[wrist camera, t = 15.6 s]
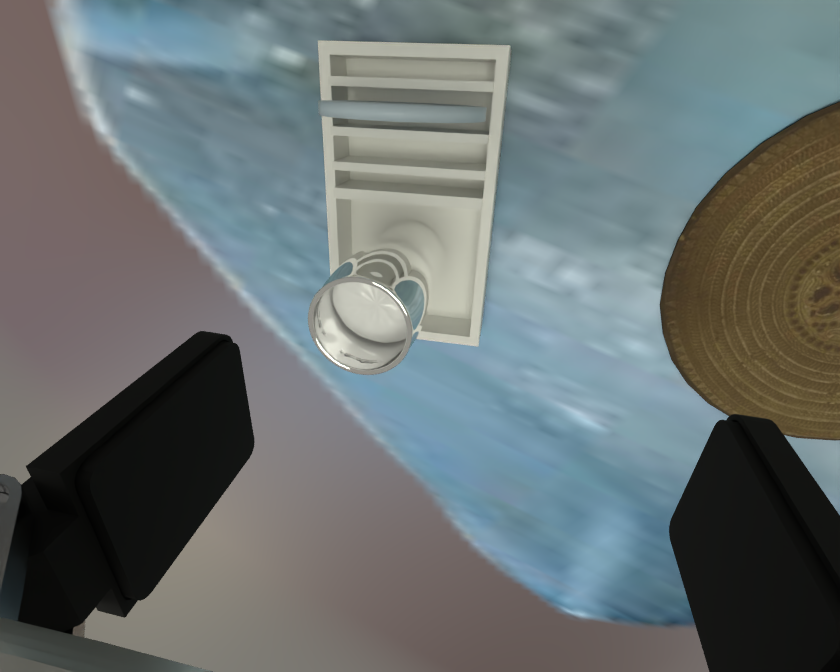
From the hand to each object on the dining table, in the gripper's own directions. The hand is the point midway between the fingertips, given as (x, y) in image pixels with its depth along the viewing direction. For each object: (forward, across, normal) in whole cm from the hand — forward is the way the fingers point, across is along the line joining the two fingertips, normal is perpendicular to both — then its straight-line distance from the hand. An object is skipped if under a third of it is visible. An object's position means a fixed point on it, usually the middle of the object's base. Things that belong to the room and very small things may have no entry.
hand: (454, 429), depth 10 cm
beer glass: (+32, +8, +8) cm, 33 cm away
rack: (+33, +7, +4) cm, 34 cm away
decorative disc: (+33, -29, +7) cm, 45 cm away
